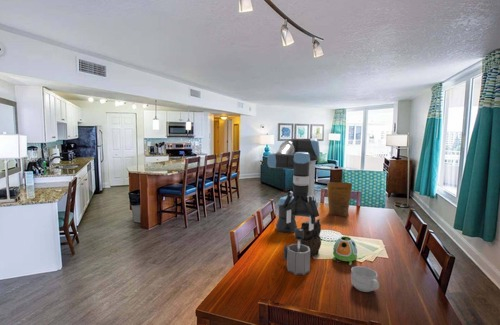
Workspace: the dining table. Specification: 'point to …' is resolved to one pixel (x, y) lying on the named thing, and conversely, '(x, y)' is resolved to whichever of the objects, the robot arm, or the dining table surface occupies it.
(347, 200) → the pancake mix bag
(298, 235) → the plunger
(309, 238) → the owl
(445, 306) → the dining table surface
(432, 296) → the dining table surface
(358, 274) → the teacup
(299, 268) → the press carafe
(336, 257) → the turtle holder
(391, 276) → the dining table surface
